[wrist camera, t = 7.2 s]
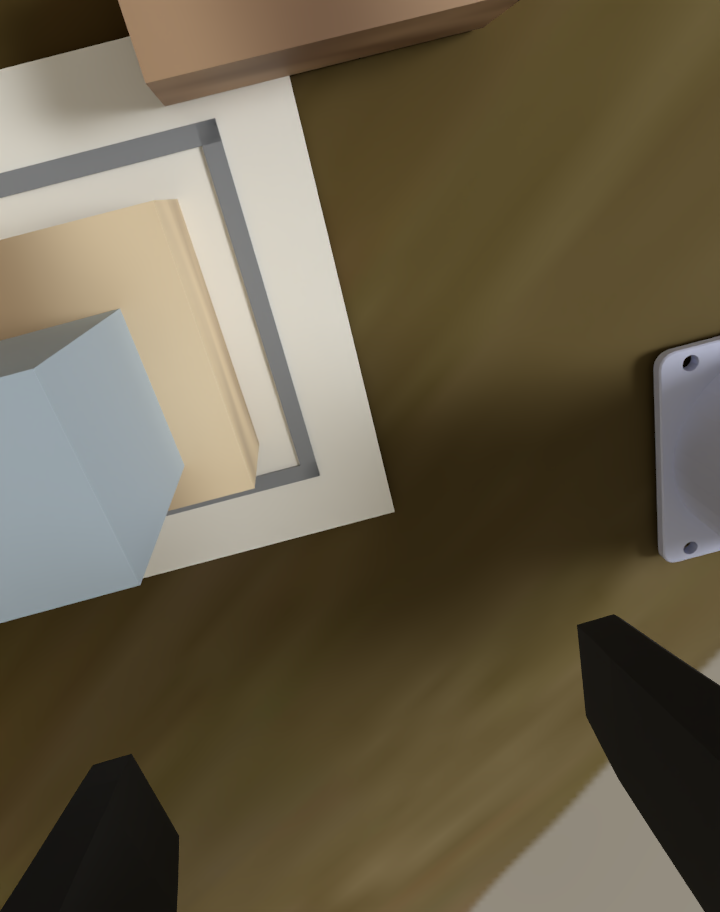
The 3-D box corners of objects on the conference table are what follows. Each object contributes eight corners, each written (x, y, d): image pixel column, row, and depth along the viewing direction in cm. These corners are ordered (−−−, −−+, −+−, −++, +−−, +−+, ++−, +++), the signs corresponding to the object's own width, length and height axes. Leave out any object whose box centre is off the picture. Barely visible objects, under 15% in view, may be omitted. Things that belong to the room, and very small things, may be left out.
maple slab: (177, 198, 15) (153, 200, 13) (259, 443, 18) (254, 488, 15) (-91, 268, 15) (-174, 284, 12) (34, 502, 18) (-11, 557, 15)
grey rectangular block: (120, 308, 13) (34, 368, 9) (184, 465, 15) (140, 585, 10) (-55, 355, 13) (-233, 440, 9) (29, 507, 15) (-84, 645, 10)
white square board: (271, 4, 14) (270, -2, 14) (393, 507, 20) (394, 513, 20) (-311, 152, 14) (-327, 151, 14) (-18, 615, 20) (-23, 623, 19)
